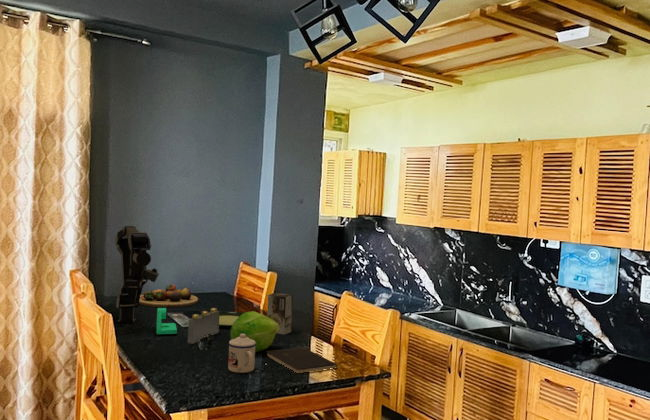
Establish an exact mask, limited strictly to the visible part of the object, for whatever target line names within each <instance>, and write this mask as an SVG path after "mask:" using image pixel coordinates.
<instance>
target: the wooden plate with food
mask: <svg viewBox="0 0 650 420" xmlns="http://www.w3.org/2000/svg"><path fill="white" fill-rule="evenodd" d="M198 302H199V298H198V297H197V296H195V295H193V294H192V292H191V291H190V289H189V288H187V287H184V288H182V289H177V287H176V285H175V284H174V283H172V284H168V285H166V287H165V290H164V289H161V288H158V289H155V290H153V289H150V290H147V291H145V292H144V293H143V294H141V295H140V301H139V306H144V307H151V308H152V307H153V308H162V307H163V308H166V309H168V308H184V307H189V306H194V305H196V304H198Z"/></svg>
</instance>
